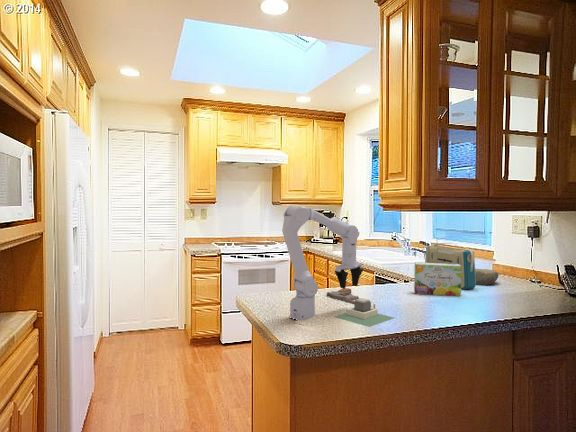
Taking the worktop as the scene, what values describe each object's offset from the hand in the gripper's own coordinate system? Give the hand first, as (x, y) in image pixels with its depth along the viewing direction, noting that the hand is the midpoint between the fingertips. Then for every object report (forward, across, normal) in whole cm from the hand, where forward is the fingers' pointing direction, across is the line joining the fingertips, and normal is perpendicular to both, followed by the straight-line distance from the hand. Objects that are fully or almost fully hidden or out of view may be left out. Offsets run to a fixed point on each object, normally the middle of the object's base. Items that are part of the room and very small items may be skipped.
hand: (348, 286), depth 166 cm
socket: (+9, -2, -9) cm, 13 cm away
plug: (+9, -2, -9) cm, 13 cm away
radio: (+11, +82, -1) cm, 83 cm away
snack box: (+11, +57, -8) cm, 58 cm away
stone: (+11, +100, -12) cm, 101 cm away
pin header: (+9, +3, -9) cm, 13 cm away
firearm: (+11, +18, +12) cm, 24 cm away
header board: (+10, -4, -11) cm, 16 cm away
